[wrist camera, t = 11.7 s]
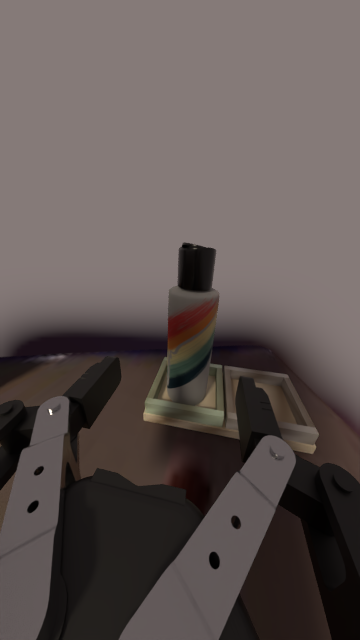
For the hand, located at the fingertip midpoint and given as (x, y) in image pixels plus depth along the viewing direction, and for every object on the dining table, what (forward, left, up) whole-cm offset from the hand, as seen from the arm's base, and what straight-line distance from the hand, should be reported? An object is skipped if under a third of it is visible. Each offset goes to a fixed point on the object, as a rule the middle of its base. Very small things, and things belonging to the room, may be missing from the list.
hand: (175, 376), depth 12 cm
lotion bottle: (0, +11, -12) cm, 16 cm away
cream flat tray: (+5, +11, -13) cm, 18 cm away
